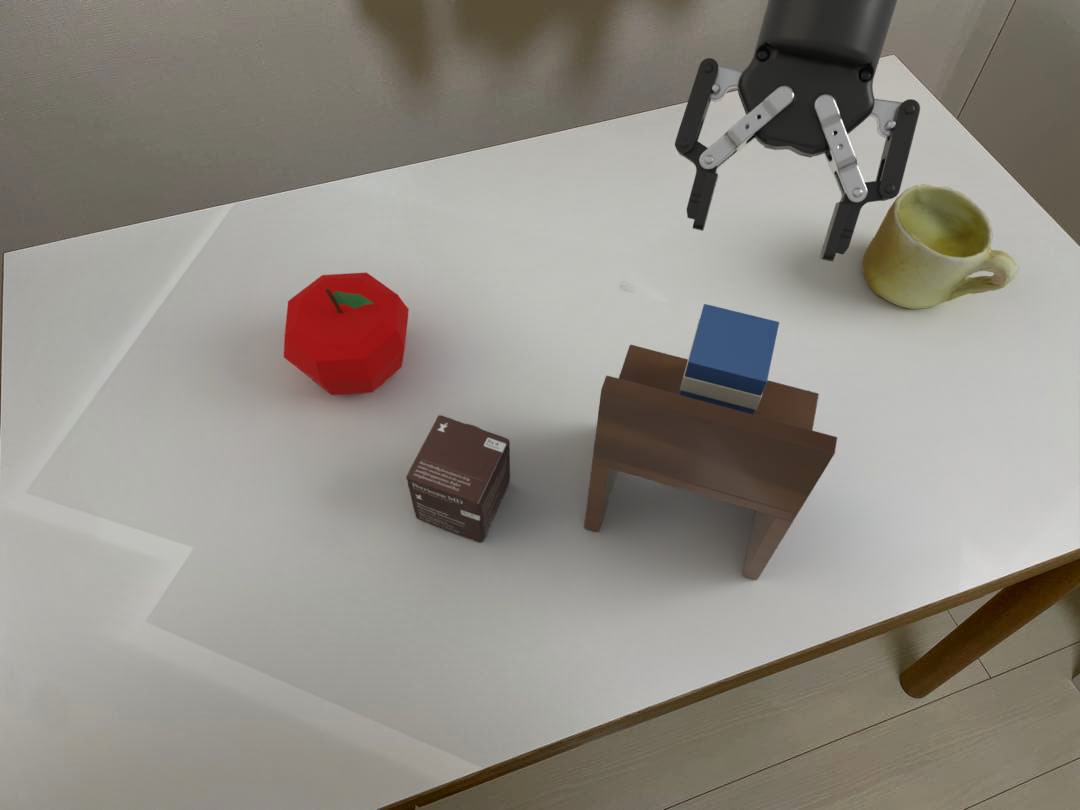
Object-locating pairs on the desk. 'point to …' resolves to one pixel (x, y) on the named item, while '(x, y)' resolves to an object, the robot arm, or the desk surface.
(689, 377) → the carton
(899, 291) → the mug
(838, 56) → the robot arm
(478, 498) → the box
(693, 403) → the chair
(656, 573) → the desk surface
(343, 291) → the apple
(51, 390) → the desk surface
